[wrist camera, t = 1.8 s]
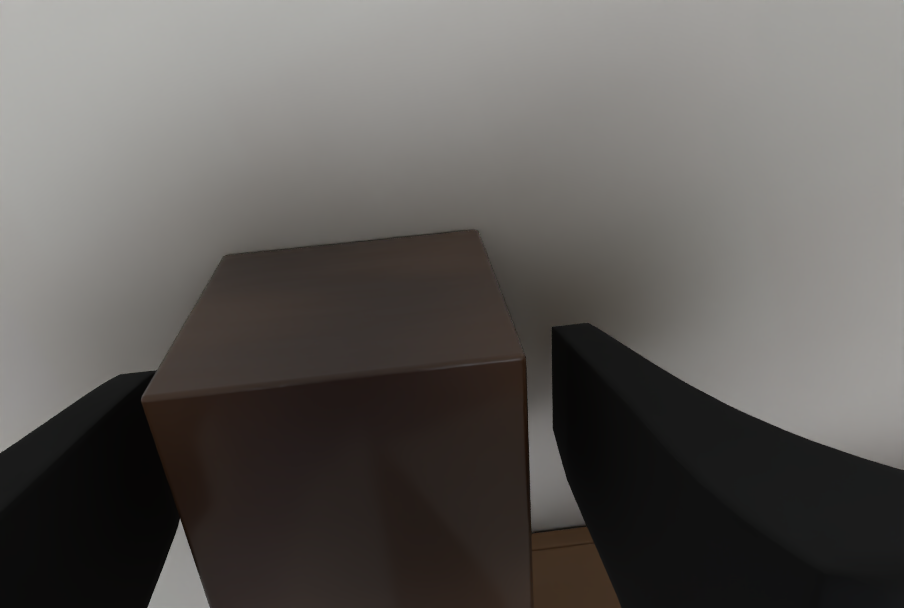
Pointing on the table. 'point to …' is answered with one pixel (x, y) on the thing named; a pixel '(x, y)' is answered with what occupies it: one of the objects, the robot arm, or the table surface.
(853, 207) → the table surface
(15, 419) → the table surface
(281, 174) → the table surface
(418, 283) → the block
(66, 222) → the table surface
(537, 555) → the brown open box
